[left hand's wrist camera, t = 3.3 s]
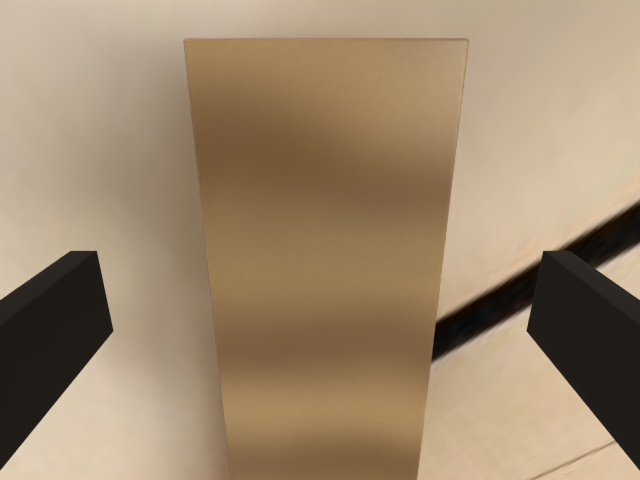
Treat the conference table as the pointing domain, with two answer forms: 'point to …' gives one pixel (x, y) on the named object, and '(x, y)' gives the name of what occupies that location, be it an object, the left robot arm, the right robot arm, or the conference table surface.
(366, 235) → the wide beam
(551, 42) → the conference table surface
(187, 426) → the conference table surface
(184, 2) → the conference table surface
